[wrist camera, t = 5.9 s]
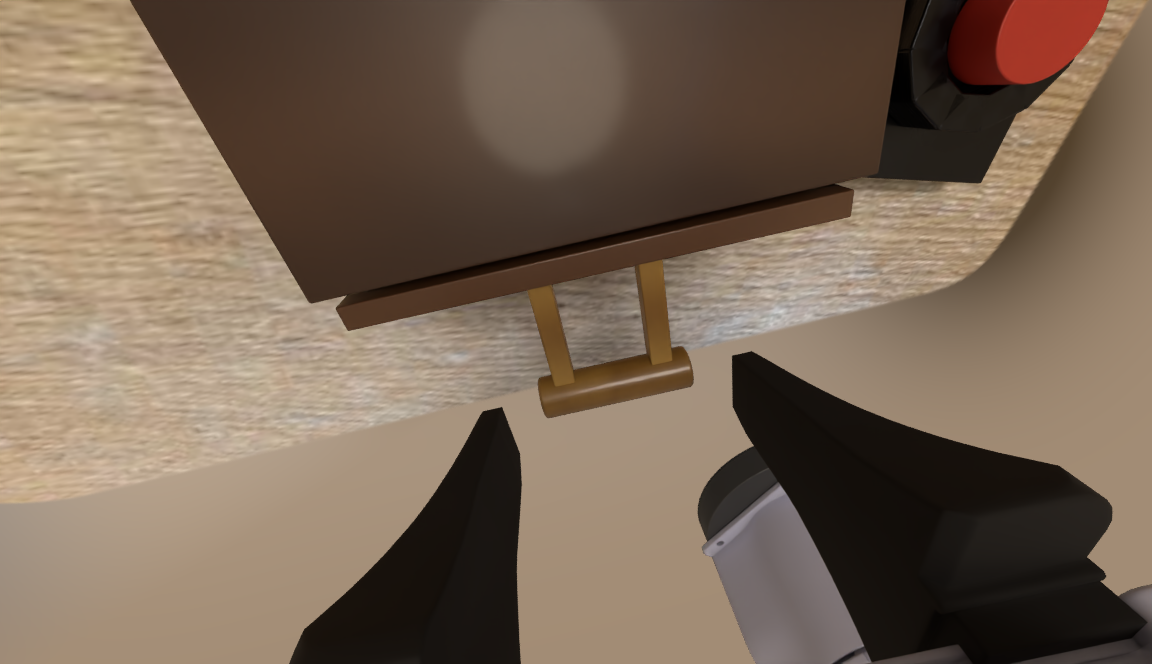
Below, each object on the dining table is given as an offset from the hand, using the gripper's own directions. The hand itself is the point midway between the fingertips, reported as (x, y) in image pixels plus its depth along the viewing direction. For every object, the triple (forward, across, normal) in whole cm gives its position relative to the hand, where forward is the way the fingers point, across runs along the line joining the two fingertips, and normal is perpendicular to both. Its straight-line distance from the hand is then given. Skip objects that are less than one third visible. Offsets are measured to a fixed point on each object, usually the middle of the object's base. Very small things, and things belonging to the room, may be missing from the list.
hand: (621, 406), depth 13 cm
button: (+6, -15, -7) cm, 18 cm away
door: (+8, 0, -2) cm, 9 cm away
